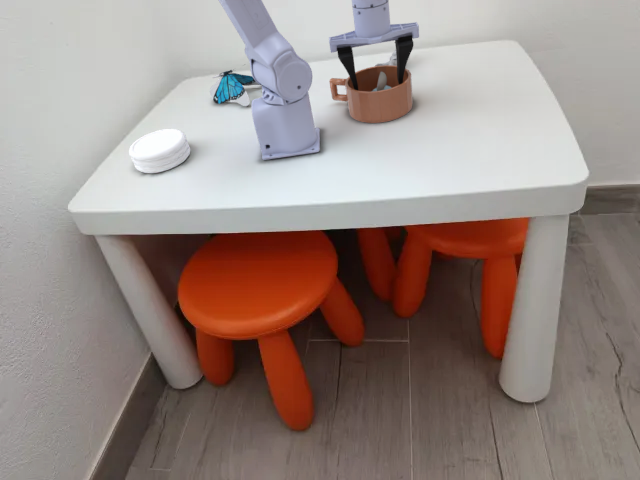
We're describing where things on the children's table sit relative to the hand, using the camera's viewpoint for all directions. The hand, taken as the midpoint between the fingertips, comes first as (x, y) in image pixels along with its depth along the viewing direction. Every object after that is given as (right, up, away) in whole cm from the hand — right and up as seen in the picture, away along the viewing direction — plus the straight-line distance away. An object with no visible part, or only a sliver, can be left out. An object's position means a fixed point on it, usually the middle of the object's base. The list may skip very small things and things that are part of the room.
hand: (378, 85), depth 88 cm
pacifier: (0, -3, +3) cm, 4 cm away
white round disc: (-38, -13, +2) cm, 40 cm away
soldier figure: (+5, +7, +15) cm, 17 cm away
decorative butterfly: (-28, +5, +17) cm, 33 cm away
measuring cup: (-1, -3, +4) cm, 5 cm away
